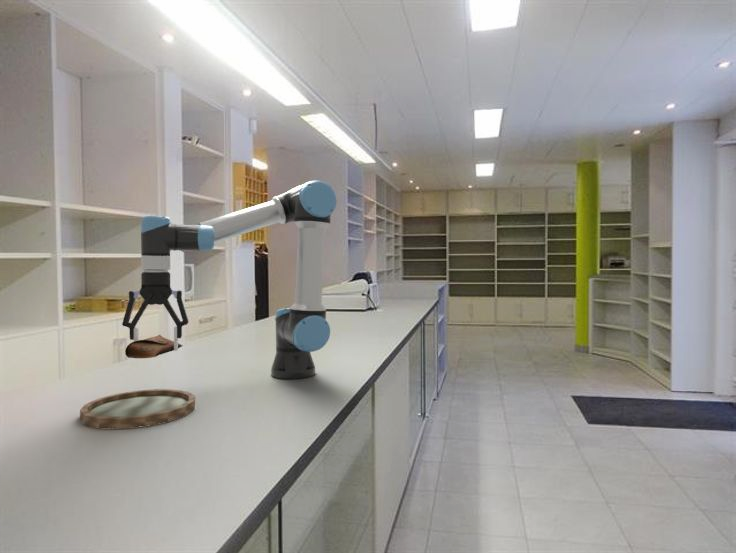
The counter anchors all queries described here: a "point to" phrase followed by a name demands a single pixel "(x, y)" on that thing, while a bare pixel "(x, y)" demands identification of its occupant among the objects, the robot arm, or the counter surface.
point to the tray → (137, 408)
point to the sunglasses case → (150, 347)
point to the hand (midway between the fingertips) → (156, 350)
